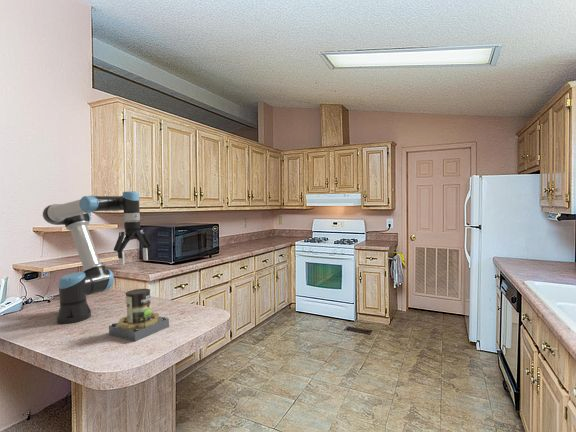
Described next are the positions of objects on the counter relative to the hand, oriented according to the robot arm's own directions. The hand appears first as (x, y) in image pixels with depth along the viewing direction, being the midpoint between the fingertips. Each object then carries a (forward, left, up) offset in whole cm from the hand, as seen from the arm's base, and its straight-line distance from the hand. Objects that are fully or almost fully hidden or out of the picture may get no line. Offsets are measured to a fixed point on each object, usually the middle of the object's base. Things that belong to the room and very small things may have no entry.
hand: (134, 262), depth 168 cm
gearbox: (+18, -12, -29) cm, 36 cm away
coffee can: (+18, -12, -25) cm, 33 cm away
